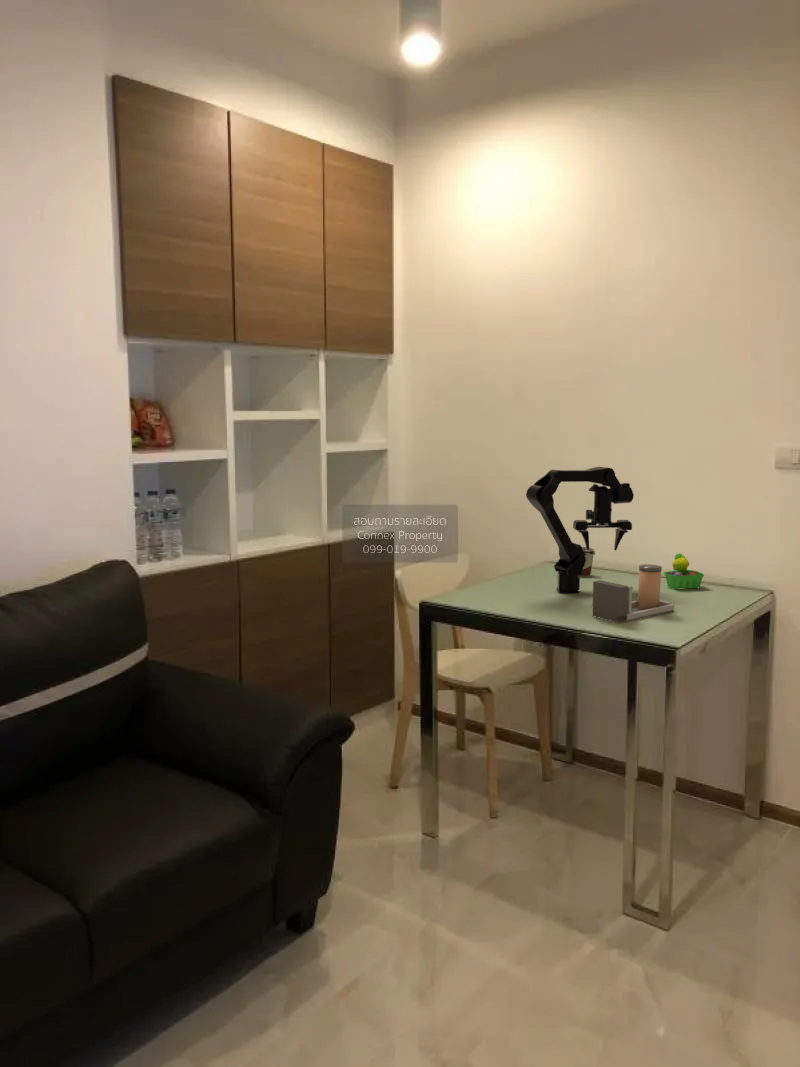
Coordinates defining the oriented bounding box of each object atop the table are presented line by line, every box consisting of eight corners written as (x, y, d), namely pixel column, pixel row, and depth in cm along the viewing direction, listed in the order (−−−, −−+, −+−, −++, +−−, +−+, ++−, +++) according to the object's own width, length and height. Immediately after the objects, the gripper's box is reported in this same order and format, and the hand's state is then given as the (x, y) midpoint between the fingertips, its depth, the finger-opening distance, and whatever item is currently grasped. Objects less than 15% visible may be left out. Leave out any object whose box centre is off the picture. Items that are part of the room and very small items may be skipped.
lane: (619, 623, 249) (621, 587, 247) (592, 616, 257) (593, 581, 256) (673, 611, 262) (675, 577, 261) (646, 604, 271) (647, 571, 269)
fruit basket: (672, 590, 291) (674, 557, 289) (660, 585, 299) (662, 553, 298) (704, 589, 292) (706, 556, 291) (691, 583, 301) (693, 551, 299)
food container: (592, 573, 321) (593, 546, 319) (594, 576, 315) (595, 549, 313) (558, 572, 322) (559, 546, 320) (560, 576, 316) (560, 549, 314)
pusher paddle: (628, 616, 253) (629, 587, 251) (608, 611, 259) (609, 583, 258) (631, 616, 254) (632, 586, 252) (611, 611, 260) (612, 582, 258)
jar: (634, 609, 263) (636, 567, 260) (640, 604, 268) (642, 563, 266) (656, 612, 259) (658, 569, 257) (661, 607, 265) (664, 565, 263)
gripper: (625, 501, 299) (623, 546, 301) (570, 501, 299) (569, 546, 302) (633, 505, 288) (631, 551, 290) (576, 505, 288) (575, 552, 291)
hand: (601, 550), depth 294 cm, fingers open, 9 cm apart
